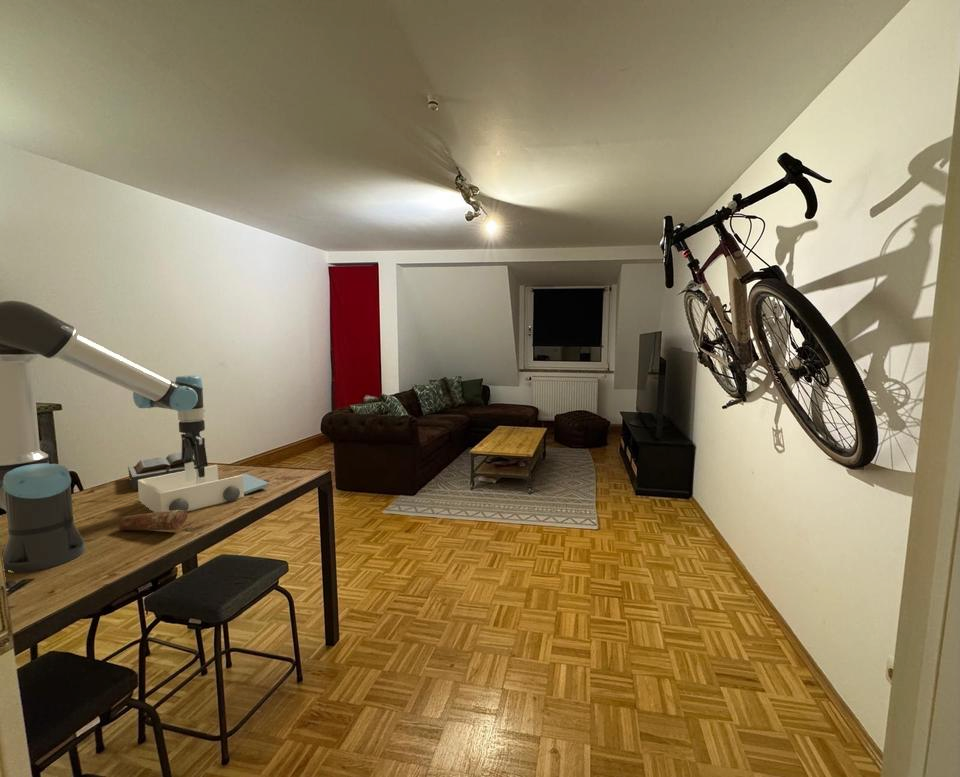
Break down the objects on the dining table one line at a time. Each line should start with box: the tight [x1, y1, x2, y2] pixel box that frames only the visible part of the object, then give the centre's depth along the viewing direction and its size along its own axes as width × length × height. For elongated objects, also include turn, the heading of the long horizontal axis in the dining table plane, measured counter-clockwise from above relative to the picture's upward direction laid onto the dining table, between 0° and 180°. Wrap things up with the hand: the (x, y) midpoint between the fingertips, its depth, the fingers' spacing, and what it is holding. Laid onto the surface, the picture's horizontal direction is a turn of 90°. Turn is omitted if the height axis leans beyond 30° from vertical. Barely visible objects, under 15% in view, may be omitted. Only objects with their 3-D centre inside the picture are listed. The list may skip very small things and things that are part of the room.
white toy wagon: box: [137, 464, 245, 513], centre depth 154 cm, size 25×25×8 cm
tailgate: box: [237, 473, 270, 495], centre depth 168 cm, size 1×20×10 cm
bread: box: [117, 510, 188, 531], centre depth 128 cm, size 6×19×6 cm, turn 86°
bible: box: [127, 451, 209, 492], centre depth 176 cm, size 23×27×10 cm
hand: (195, 483), depth 155 cm, fingers open, 9 cm apart
